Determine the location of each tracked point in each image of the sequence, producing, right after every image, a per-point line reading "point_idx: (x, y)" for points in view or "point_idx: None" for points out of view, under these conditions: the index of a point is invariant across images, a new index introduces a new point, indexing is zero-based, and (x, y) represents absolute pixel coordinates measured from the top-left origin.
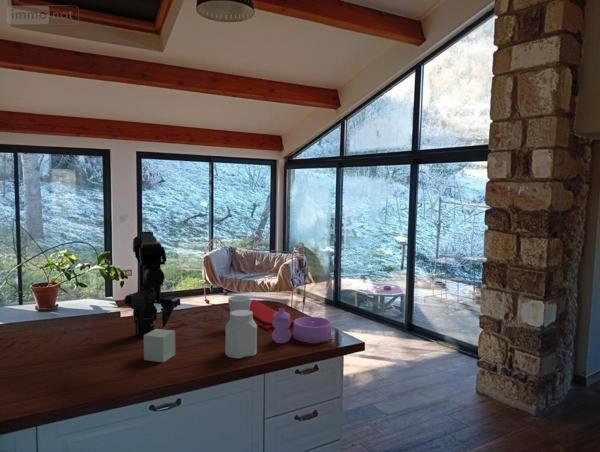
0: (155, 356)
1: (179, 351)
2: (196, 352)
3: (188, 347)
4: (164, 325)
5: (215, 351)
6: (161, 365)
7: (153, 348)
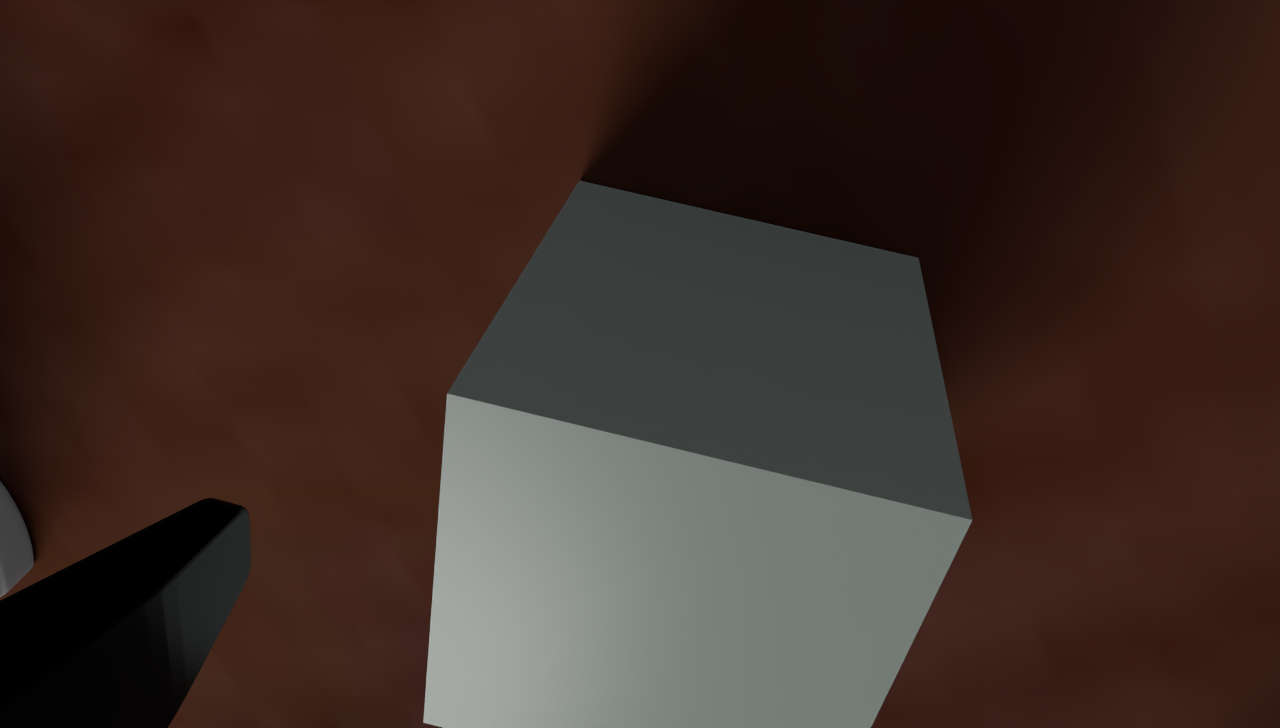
0: (707, 244)
1: None
2: (322, 509)
3: None
4: (174, 529)
5: None
6: (559, 59)
7: (731, 313)
